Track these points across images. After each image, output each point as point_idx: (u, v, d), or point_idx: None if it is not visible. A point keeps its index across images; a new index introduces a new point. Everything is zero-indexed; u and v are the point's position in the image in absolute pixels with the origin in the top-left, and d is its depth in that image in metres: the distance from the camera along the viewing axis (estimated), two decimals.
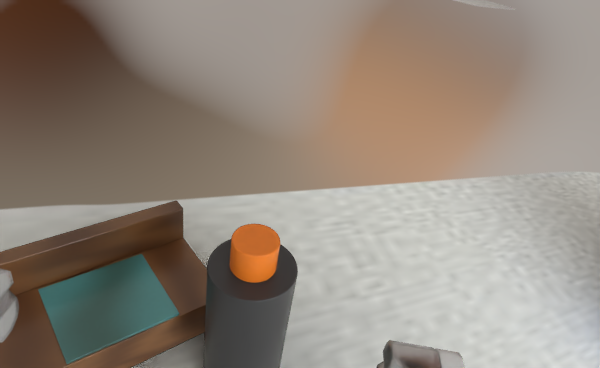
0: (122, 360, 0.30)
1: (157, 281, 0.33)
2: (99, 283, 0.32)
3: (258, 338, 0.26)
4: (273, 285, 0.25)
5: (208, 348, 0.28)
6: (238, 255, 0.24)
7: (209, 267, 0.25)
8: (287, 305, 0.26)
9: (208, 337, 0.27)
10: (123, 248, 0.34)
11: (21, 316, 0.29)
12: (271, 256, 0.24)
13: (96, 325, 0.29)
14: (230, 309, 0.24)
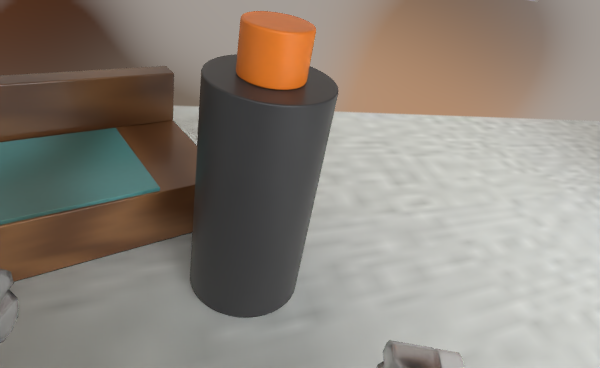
0: (74, 244, 0.20)
1: (133, 154, 0.24)
2: (51, 149, 0.23)
3: (274, 186, 0.17)
4: (303, 95, 0.16)
5: (198, 218, 0.19)
6: (251, 33, 0.15)
7: (204, 70, 0.16)
8: (321, 138, 0.17)
9: (198, 198, 0.18)
10: (90, 114, 0.25)
11: None
12: (302, 39, 0.15)
13: (37, 189, 0.20)
14: (234, 124, 0.15)
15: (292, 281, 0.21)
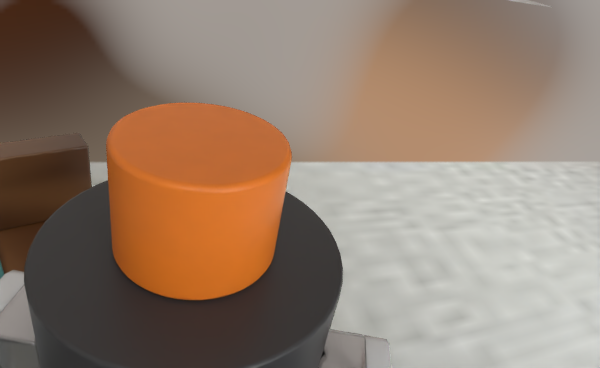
0: None
1: None
2: None
3: None
4: (260, 314, 0.07)
5: None
6: (124, 185, 0.06)
7: (39, 240, 0.07)
8: None
9: None
10: None
11: None
12: (255, 197, 0.06)
13: None
14: None
15: None
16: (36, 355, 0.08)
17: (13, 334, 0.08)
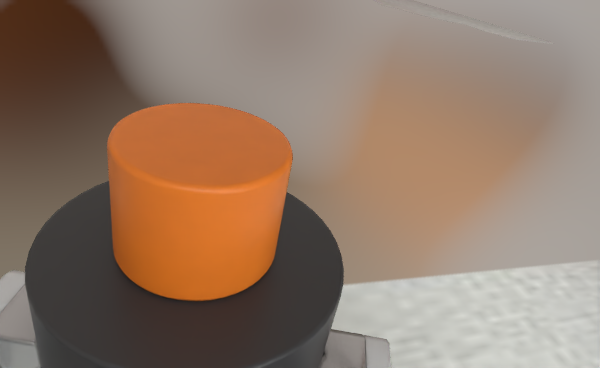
0: None
1: None
2: None
3: None
4: (261, 315, 0.07)
5: None
6: (125, 186, 0.06)
7: (40, 241, 0.07)
8: None
9: None
10: None
11: None
12: (256, 198, 0.06)
13: None
14: None
15: None
16: (36, 355, 0.08)
17: (13, 334, 0.08)
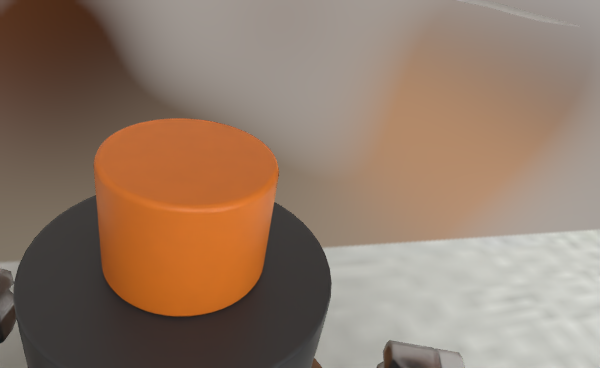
0: None
1: None
2: None
3: None
4: (247, 330, 0.07)
5: None
6: (110, 205, 0.06)
7: (29, 257, 0.07)
8: None
9: None
10: None
11: None
12: (241, 216, 0.06)
13: None
14: None
15: None
16: None
17: None
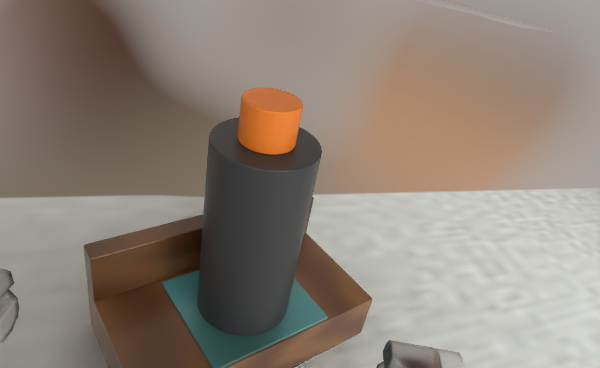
0: None
1: None
2: None
3: (269, 231, 0.20)
4: (292, 159, 0.20)
5: (205, 254, 0.22)
6: (250, 112, 0.19)
7: (212, 137, 0.20)
8: (308, 191, 0.20)
9: (206, 238, 0.22)
10: None
11: (148, 313, 0.24)
12: (291, 116, 0.19)
13: None
14: (236, 184, 0.19)
15: (284, 305, 0.24)
16: None
17: None
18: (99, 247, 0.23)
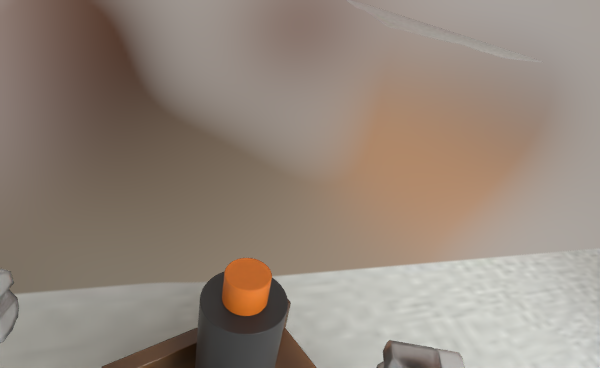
0: None
1: None
2: None
3: None
4: (263, 319, 0.25)
5: None
6: (230, 289, 0.25)
7: (202, 299, 0.26)
8: (276, 339, 0.26)
9: None
10: None
11: None
12: (262, 291, 0.25)
13: None
14: (220, 341, 0.25)
15: None
16: None
17: None
18: None
